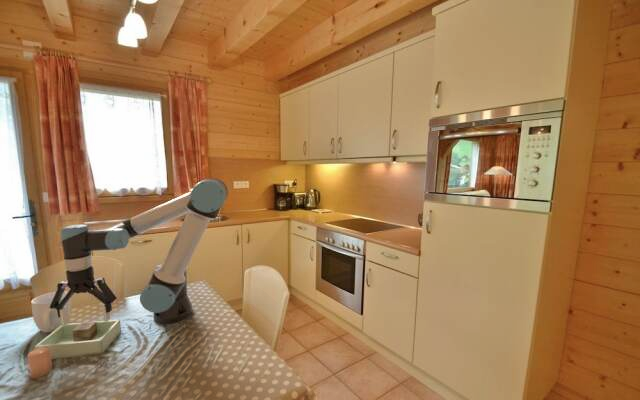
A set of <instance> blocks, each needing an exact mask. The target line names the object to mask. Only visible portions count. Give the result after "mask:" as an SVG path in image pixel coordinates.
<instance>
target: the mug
mask: <svg viewBox="0 0 640 400" xmlns="http://www.w3.org/2000/svg"><path fill="white" fill-rule="evenodd" d="M68 292H69V291H66V290H64V293H63V295H62V297H61V299H60V302H61V301H62V300H63V298H64V297H65V296H66V295H67V293H68ZM55 294H56V291H52V292H48V293H44V294H41V295H38V296H36V297H35V298H33V299H32V300H30V306H31V313H32V318H33V321H34V324H35V325H36V327H37V328H38V330H40V331H41V332H42V333H52V332H53V331H55V330H56V329H57V328H58V327H60V326H61V325H62V324H61V317H58V313H57V309H55V308H53V309H51V308H50V305H51V303H52V300H53V298H54V296H55ZM70 299H71V298H70ZM70 299H69V300H68V302H67V303H66V304H65V306H67V309H68V317H69V318H70V316H71V315H70V314H71V300H70ZM60 302H59V303H60ZM63 307H64V306H63Z"/></svg>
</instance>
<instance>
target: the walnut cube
mask: <svg viewBox="0 0 640 400" xmlns="http://www.w3.org/2000/svg"><path fill="white" fill-rule="evenodd" d="M86 322H87V323H85V322H80V323H81V324H80V325H78V326H77V327H76V328H75V329H74V330H73V340H74V342H79V341H89V340H92V339H93V338H94V337H95V336H96V335H97V324H96V322H97V321H86Z"/></svg>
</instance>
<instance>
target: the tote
mask: <svg viewBox="0 0 640 400" xmlns="http://www.w3.org/2000/svg"><path fill="white" fill-rule="evenodd" d="M87 322H88V321H86V322H84V323H87ZM95 322H96V324H97V335H96V336H95V337H94V338H93V339H92V340H89V341H79V342H74V340H73V330H74V329H75V328H76V327H77V326H78V325H80V324H81V323H82V322H77V323H76V322H75V323H68V324H67V325H66V326H64V327H62V325H61V326H60V327H58V328H57V329H56V330H55V331H53V332H50V334H48V335H47V336H46V337H44V338H43V339H42V340H40V342H38V343H37V344H35V345H34V346H33V350H35V349H38V348H41V347H50V352H51V360H57V359H66V358H76V357H77V358H78V357H85V356H87V357H88V356H96V355H102V354H103V353H104V352H106V349H107V348H109V346H110V345H111V344H112V343H113V341H115V339H116V338H117V337H118V336H119V335H120V333H121V332H122V326H121V325H122V324H121V319H109V320H108V321H107V322H104V320H99V321H97V320H96V321H95Z"/></svg>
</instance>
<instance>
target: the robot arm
mask: <svg viewBox="0 0 640 400" xmlns="http://www.w3.org/2000/svg"><path fill="white" fill-rule="evenodd" d="M228 193H229V191H228V187H227V185H226V183H225V182H224V181H222V180H221V179H219V178H213V177H212V178H207V179H203V180H200V181H199V182H197V183H196V184H195V185H194V186H193V187H192V188H191V189H190V192H186V193H185V194H182V195H180V196H178V197H176V198H173V199H172V200H169V201H166V202H165V203H162V204H160V205H157V206H155V207H154V208H153V207H152V208H151V209H149V210H146V211H144V212H142V213H140V214H137V215H135V216H133V217H131V218H128V219H126V220H123V221H121V222H118V223H117V224H114V225H112V226H110V227H108V228H104V229H103V228H102V229H90V228H89V225H88V224H82V223H81V224H71V225H66V226H64V227H62V228H61V229H60V236H61V237H60V239H61V240H60V242H61V245H62V251H63V257H64V258H63V260H64V261H63V262H64V268H65V275H66V280H62V281H61V282H59V283H57V286H56V287H57V290H56V291H55V292H56V294H55V296H54V298H53V300H52V303H51V305H50V308H51V309H53V308H55V309H57V313H58V317H61V324H62V327H64V326H66V325H67V324H70V316H69V317H68V309H67V306H65V304H66V303H67V302H68V300H69V299H71V298H72V297H73V295H74V294H87V293H88V294H90V295H92V296H93V297H95V298H96V299H97V300H99V302H101V303H102V306H101V308H102V315H103V321H104V322H107V321H108V320H111V314H110V313H111V311H112V303H114V302H116V300H117V296H116V295H115V294H114V293H113V291H112V290H111V289H110V287H109V286H108V284H107V283H106V279H105V277H100V278H97V279H96V278H95V270H94V266H93V257H92V256H93V255H92V252H96V251H97V252H99V251H110V250H111V251H115V250H116V251H117V250H121V249H122V250H123V249H125V248H126V247H127V246H128V244H129V243H130V242H129V241H130V239H132V238H133V239H134V238H135V237H138V236H140V235H142V234H143V233H146V232H148V231H150V230H153V229H155V228H157V227H160V226H161V225H163V224H166V223H168V222H170V221H173V220H175V219H177V218H180V217H181V216H184V215H185V218H184V220H183V221H182V223H181V225H180V227H179V229H178V232H177V234H176V236H175V238H174V240H173V242H172V244H171V246H170V248H169V249H168V252H167V254H166V256H165V258H164V260H163V262H162V263H160V264H158V265H156V266H155V269H154V270H153V272H152V275H151V277H150V279H149V281H148V283H147V284H146V286H145V287H144V288H143V289H142V290H141V292H140V295H139V303H140V304H141V306H142V308H143V309H144V310H146V311H148V312H150V313H153V315H152V316H153V321H154V322H155V323H158V324H172V323H177V322H180V321H183V320H184V319H187V318H188V317H189V316H190V315H191V314H192V312H193V305H192V303H191V300H190V299H189V296H188V286H187V283H188V281H187V268H188V266H189V264H190V262H191V260H192V258H193V256H194V254H195V252H196V250H197V248H198V246H199V244H200V241H201V240H202V238H203V235H204V234H205V231H206V229H207V228H208V226H209V224H210V222H211V221H213V220H216V218H217V217H218V215H219V212H221V211H220V210H221V208H222V207H223V205H224V203H225V201H226V200H227V198H228ZM67 287H68V288H69V291H67V292H68V293H67V295H66V296H65V297H64V298H63V300H62V301H61V302H60V299H61V297H62V295H63V293H64V291H66V289H67ZM59 302H60V303H59ZM63 306H64V307H63Z"/></svg>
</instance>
